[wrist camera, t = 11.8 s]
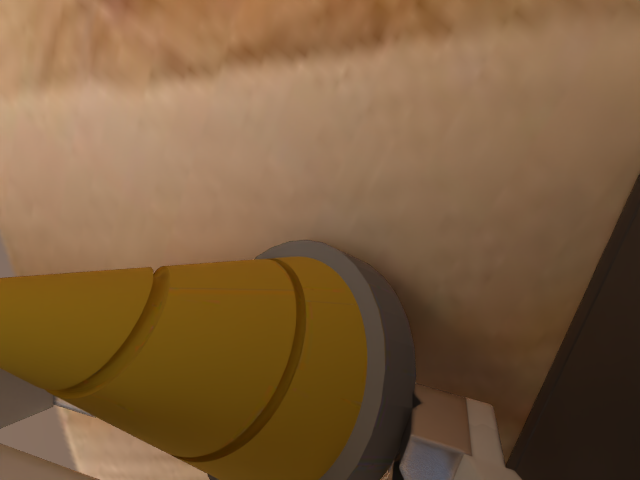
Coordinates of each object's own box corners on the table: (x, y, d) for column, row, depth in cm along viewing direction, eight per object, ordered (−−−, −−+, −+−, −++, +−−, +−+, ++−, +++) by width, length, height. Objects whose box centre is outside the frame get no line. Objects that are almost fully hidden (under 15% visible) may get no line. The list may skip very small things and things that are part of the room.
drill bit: (280, 436, 14) (-204, 409, 7) (348, 262, 14) (-54, 83, 8) (432, 566, 10) (-303, 766, 3) (521, 323, 11) (14, 67, 4)
